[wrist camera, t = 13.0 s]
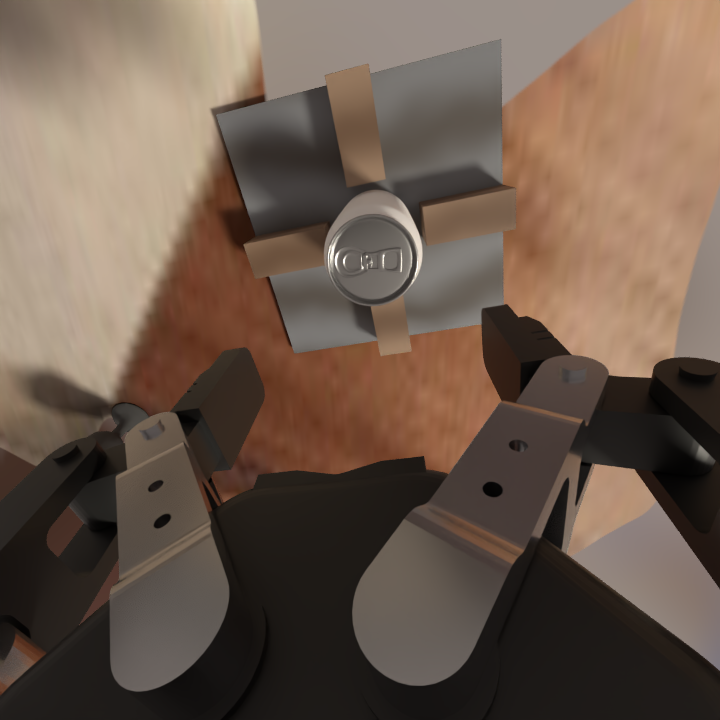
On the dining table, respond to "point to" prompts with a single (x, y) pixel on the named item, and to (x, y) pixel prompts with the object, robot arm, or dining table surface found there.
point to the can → (373, 249)
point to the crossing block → (379, 172)
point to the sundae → (120, 424)
